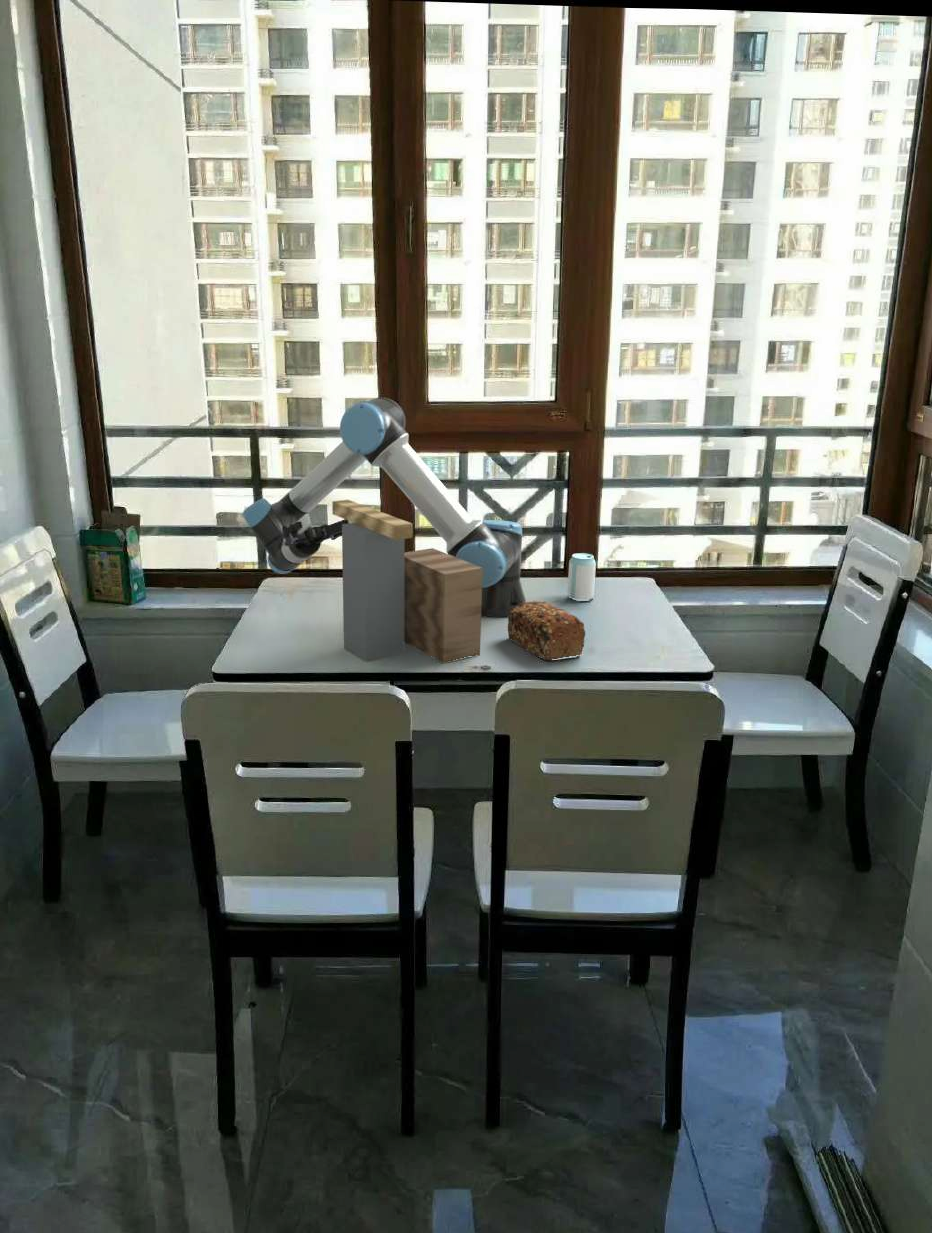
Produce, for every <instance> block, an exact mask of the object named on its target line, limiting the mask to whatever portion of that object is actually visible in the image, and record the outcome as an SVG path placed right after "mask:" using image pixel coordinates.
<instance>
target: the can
mask: <svg viewBox="0 0 932 1233" xmlns="http://www.w3.org/2000/svg"><path fill="white" fill-rule="evenodd" d="M594 557H595V556H594V555H593V554H590V553H585V552H581V553H573V554H572V555H571V558H570V559H569V561H568V578H567V580H568V581H567V595H568V596H569V597H571V598H575V599H588V598H591V597H593V596H595V581H596V580H595V579H596V566H597V562H596V560H595V558H594ZM568 596H567V597H568ZM569 597H568V598H569Z"/></svg>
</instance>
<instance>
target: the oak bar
mask: <svg viewBox="0 0 932 1233" xmlns="http://www.w3.org/2000/svg"><path fill="white" fill-rule="evenodd" d="M331 504H332V508H331V509H332V510H331V511H332V515H333V516H336V517H339V518H341V519H342V520H344V519H346V520H348V521H351V522H353V523H355V524H358V525H360V526H363V527H365V528H368V529H370V530H373V531H375V532H378V533H380V534H383V535H385V536H388V537H390V538H393V539H395V540H400V539H405V540H406V539H412V538H413V533H414V532H413V530H414V529H413V527H414V524H413V523H412V522H409V521H407V520H404V519H401V518H398V517H396V516H393V515H391V514H388V513H385V512H384V511H383V512H382V511H379V510H377V509H374V508H372V507H369V506H367V505H363V504H360V503H357V502H355V501H352V500H349V499H343V500H333V501H332V503H331Z"/></svg>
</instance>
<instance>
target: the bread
mask: <svg viewBox="0 0 932 1233" xmlns="http://www.w3.org/2000/svg"><path fill="white" fill-rule="evenodd" d="M507 632H508V638H509V640H510V639H512V640H514V641H515V642H516V643H515V642H514V641H513V642H514V643H515V644H517V643H519V644H520V645H521V646H522V647H521V646H520V645H519V644H518V645H519V646H520V647H521V648H523V647H525V648H526V649H528V650H529V651H528V650H527V651H528V652H530V651H531V652H530V653H532V654H533V653H534V654H535V656H536V655H537V656H540V657H542V658H544V659H543V660H544V661H546V660H552V659H558V658H563V657H569V656H576V655H580V654H581V655H582V653H583V648H584V647H585V642H586V641H585V636H586V631H585V623H584V622H583V621H581V620H580V619H579V618H578V617H577V616H576V615H574V614H572V613H570V612H568V611H566V610H565V609H562V608H560V607H558V606H556V605H552V604H550V603H548V602H546V601H538V600H537V601H534V600H533V601H526V602H525V603H521V604H519V605H518V606H517V607H516V608H514V609H512V610H511V612H510V613H509V615H508V616H507ZM512 640H511V641H512ZM525 648H524V649H525ZM526 649H525V650H526ZM534 654H533V655H534ZM537 656H536V657H537Z"/></svg>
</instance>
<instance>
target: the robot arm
mask: <svg viewBox="0 0 932 1233" xmlns="http://www.w3.org/2000/svg"><path fill="white" fill-rule="evenodd" d="M405 415H406V414H405V413H404V410H403V409H402V407H401V406H400V405H399V404H398V403H397V401H394V400H393V399H390V398H387V397H376V398H373V399H370V400H369V399H368V400H365V401H364V400H363V401H360V402H357V403H354V405H351V406H350V407H349V408H348V409H346V410H345V412H344V413H343V415H342V417H341V420H340V423H339V433H340V437H341V438H340V439H341V440H342V442H340V443H339V444H338V445H337V446H336V447H335V448H334V449H333V450H332V451H331V452H330V453H328V455H327V456H325V457H324V458H323V459H322V460H321V461H320V462H319V463H318V464H317V465H316V466H315V467H314V468H313V469H312V470H310V472H309V473H308V474H307V475H305V476H304V477H303V478H302V479H301V480H300V481H299V482H298V483H296V485H294V487H292V488H291V489H290V490H289V492H287V493H286V494H285V495H284V496H283V497H282V498H281V499H279V501H276V502H275V503H272V504H271V503H270V502H269V501H268V500H267V499H265V498H261V499H258V500H257V501H255V502H253V503H252V504H250V505H249V506H248V507H246V508H245V509H244V510H243V512H242V517H243V519H244V521H245V522H246V523H247V527H248V528H250V530H251V531H252V532H253V534H254V536H255V537H256V539H257V540H258V542H260V544H261V545H262V547H264V550H265V551H266V552H267V554H268V555H267V564H268V566H269V568H270V569H271V570H272V571H273V572H274V573H277V574H279V575H286V574H289V573H291V572H292V571H294V570H296V569H297V568H298V567H299V566H300V565H303V564H304V562H306V560H308V559H309V558H310V557H311V556H313V555H315V554H316V553H317V552H318V551H319V550H320V548H321V546H322V543H323V542H324V541H326V540H329V539H330V540H331V541H335V540H337V538H340V537H342V524H349V523H353V522H351V521H348V520H346V519H342V520H339V521H337V522H333V523H331V524H325V523H324V524H322V525H319V526H314V527H313V526H312V522H311V518H310V511H312V510H313V509H314V508H315V507H316V506H318V504H320V503H321V502H322V501H323V500H324V499H325V498H326V497H327V496H328V495H330V494H331V493H332V492H333V491H334V490H336V488H337V487H339V485H341V484H342V483H343V482H344V481H345V480H346V479H347V478H349V477H350V475H352V474H353V473H354V472H355V471H356V470H357V469H358V468H360V467H361V466H362V465H363V464H364V463H365V462H366V461H367V462H369V464H370V465H371V467H376V468H377V467H379V468H382V470H383V471H384V472H385V473H386V474H387V475H388V476H389V478H390V479H391V480H392V481H393V482H394V483H395V485H397V487H398V489H400V490H401V491H402V493H403V494H404V495H405V496H406V497H407V498H408V500H409V501H410V502H411V503H412V504H413V506H414V507H415V508H416V509H417V510H418V511H419V513H420V514H421V515H422V516H423V517H424V518H425V520H426V521H427V522H428V523H429V524H430V525H431V526H432V527H433V529H434V530H435V531H436V532H437V533H438V534H439V535H440V537H441V538H442V539H443V540H444V541H445V544H446V548H445V550H446V552H445V553H446V554H449V555H451V556H454V557H456V558H459V559H461V560H464V561H466V562H469V563H471V564H474V565H476V566H479V567H481V568H483V570H482V603H481V616H487V617H496V618H497V617H498V618H499V617H500V618H501V617H503V618H505V617H508V615H509V613H510V612H511V610H512V609H514V608H516V607H517V606H518V605H519V604H521V603H525V602H527V600H526V596H525V592H524V590H523V586H522V582H521V566H522V545H523V544H522V542H523V541H522V540H523V529H522V528H523V527H522V525H521V524H520V523H518V522H515V521H508V520H501V519H500V520H497V519H496V520H495V519H484V520H483V519H481V520H480V519H474V518H473V517H472V516H471V515H470V514H469V513H468V512H467V511H466V509H465V508H464V507H463V506H462V505H461V503H460V502H459V501H458V500H457V499H456V498H455V496H454V495H453V494H452V493H451V492H450V491H449V489H448V487H446V486H445V485H444V483H443V482H442V481H441V480H440V479H439V477H437V475H436V474H435V473H434V472H433V470H432V469H431V468H429V466H428V465H427V464H426V463H425V461H424V460H423V459H422V458H421V457H420V456H419V454H418V453H417V452H416V451H415V449H413V448H412V446H411V445H410V444H409V436H410V435H409V433H408V432H407V430H406V429H405V428H406V416H405ZM504 616H505V617H504Z"/></svg>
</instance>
